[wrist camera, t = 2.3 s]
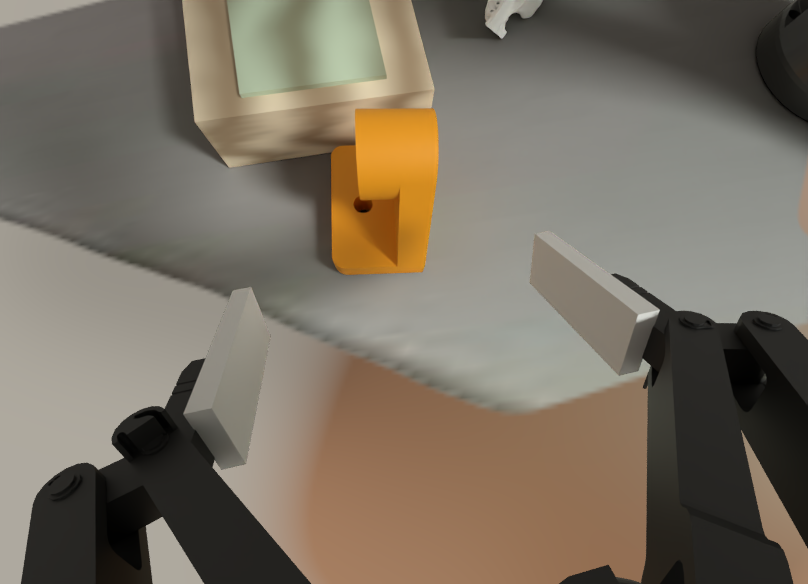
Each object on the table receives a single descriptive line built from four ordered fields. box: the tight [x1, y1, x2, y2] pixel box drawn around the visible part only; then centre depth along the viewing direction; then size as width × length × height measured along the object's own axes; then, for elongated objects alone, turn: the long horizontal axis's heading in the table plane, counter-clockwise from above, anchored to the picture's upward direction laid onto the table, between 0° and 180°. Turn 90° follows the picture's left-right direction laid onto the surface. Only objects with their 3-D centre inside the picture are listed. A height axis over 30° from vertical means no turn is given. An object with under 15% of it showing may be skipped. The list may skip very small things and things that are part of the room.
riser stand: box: [182, 0, 434, 168], centre depth 31 cm, size 18×16×6 cm
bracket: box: [331, 108, 438, 275], centre depth 26 cm, size 11×7×12 cm, turn 3°
